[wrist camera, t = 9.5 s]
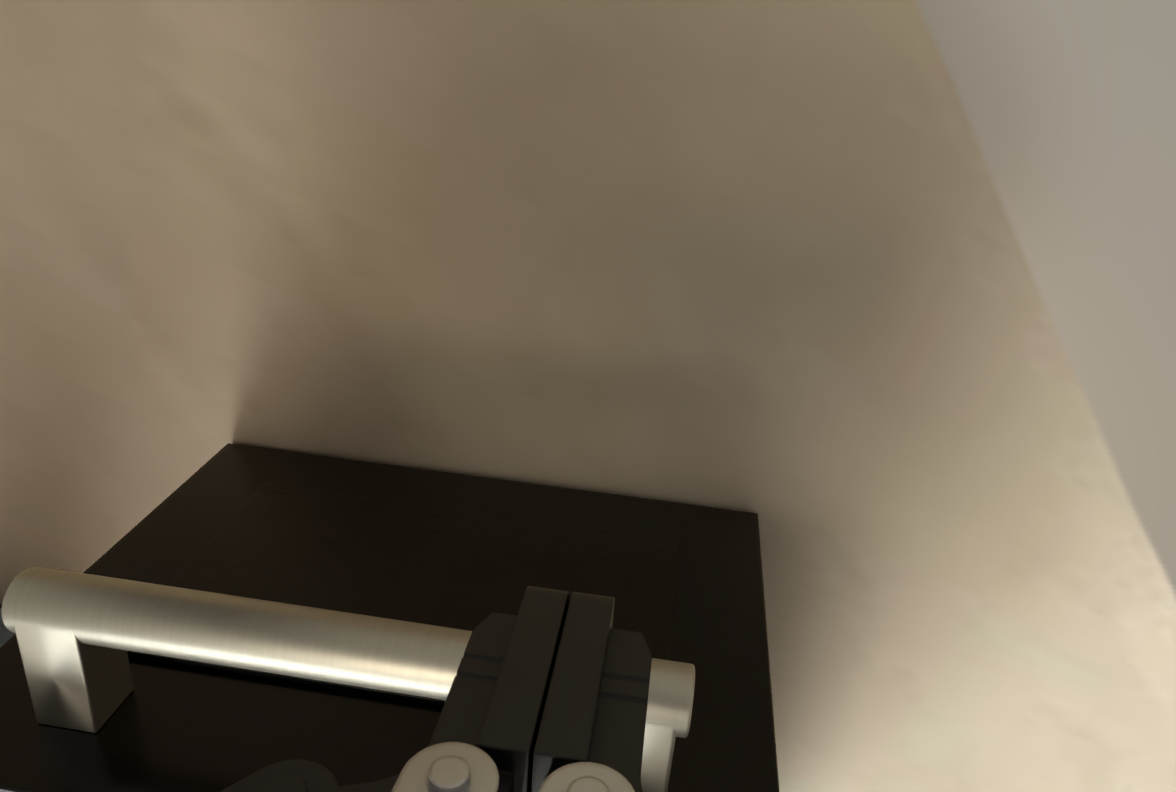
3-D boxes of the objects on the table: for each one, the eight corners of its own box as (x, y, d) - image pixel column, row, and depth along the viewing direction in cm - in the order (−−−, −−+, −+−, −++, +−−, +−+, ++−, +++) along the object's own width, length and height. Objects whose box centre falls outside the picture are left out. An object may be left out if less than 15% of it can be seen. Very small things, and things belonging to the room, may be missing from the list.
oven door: (218, 350, 32) (-181, 627, 18) (774, 419, 30) (825, 788, 16) (231, 479, 34) (-114, 816, 20) (751, 550, 32) (777, 976, 18)
